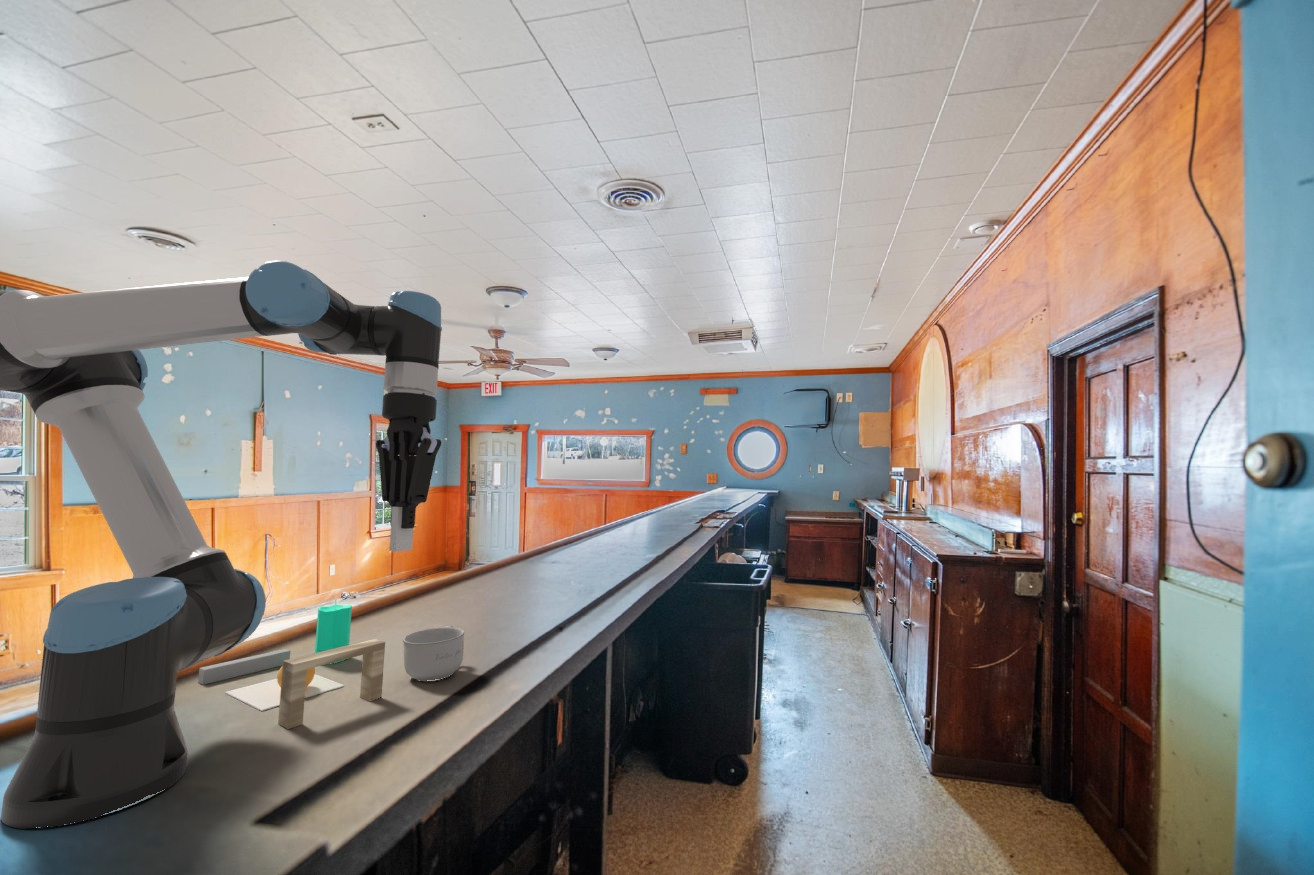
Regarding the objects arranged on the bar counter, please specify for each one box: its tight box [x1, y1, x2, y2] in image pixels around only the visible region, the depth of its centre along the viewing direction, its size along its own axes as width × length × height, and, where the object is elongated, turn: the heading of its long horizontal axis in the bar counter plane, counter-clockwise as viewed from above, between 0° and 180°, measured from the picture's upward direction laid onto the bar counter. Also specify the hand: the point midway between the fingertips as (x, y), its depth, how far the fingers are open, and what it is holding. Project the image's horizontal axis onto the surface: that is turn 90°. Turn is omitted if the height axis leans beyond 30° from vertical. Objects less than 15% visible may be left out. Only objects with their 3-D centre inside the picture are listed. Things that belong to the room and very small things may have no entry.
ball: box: [276, 665, 316, 687], centre depth 95 cm, size 6×6×6 cm
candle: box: [314, 599, 353, 665], centre depth 112 cm, size 6×6×12 cm
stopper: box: [197, 648, 291, 685], centre depth 103 cm, size 14×2×2 cm, turn 149°
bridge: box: [277, 638, 386, 730], centre depth 88 cm, size 3×14×9 cm, turn 149°
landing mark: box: [224, 673, 345, 712], centre depth 95 cm, size 13×13×1 cm
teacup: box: [402, 625, 465, 682], centre depth 105 cm, size 14×11×8 cm
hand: (400, 550), depth 82 cm, fingers closed
